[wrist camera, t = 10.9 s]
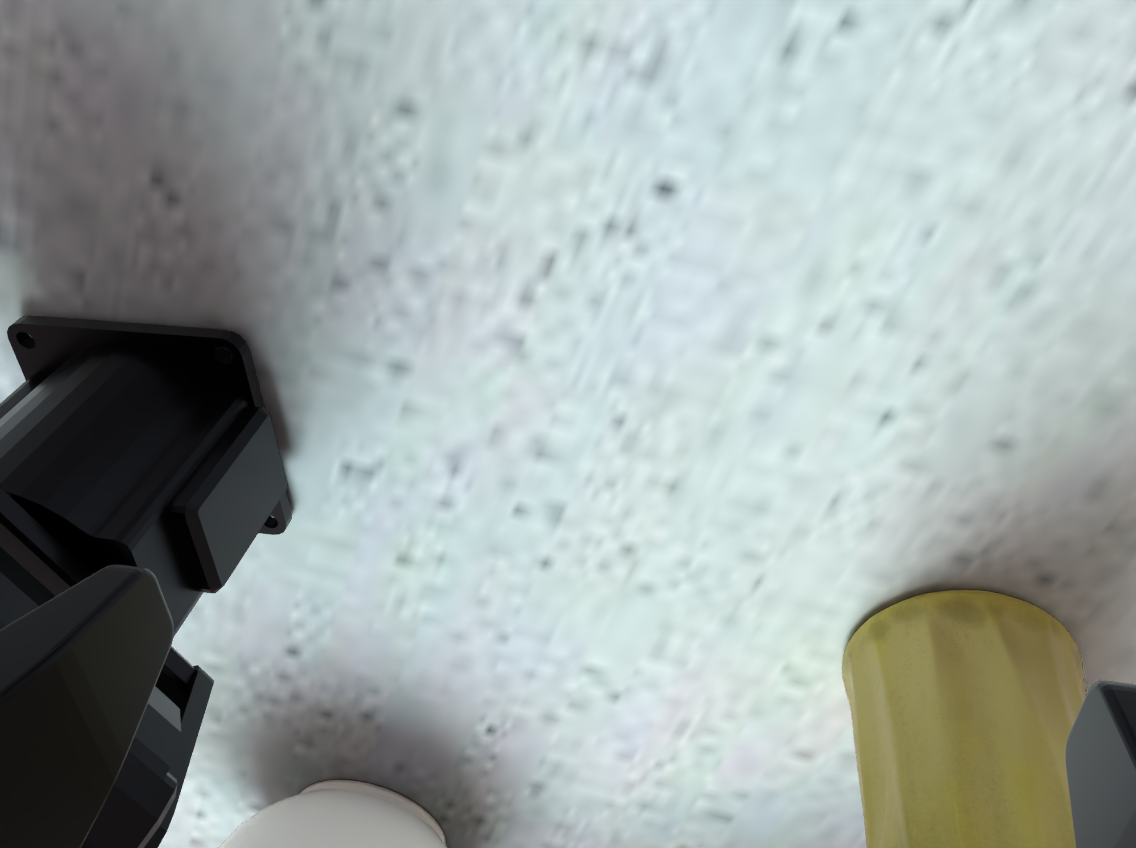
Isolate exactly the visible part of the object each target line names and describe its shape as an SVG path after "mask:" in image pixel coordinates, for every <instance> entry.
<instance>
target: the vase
mask: <svg viewBox="0 0 1136 848" xmlns="http://www.w3.org/2000/svg"><path fill="white" fill-rule="evenodd" d="M842 677H843V681H844V685H845V690H846V693H847V697H848V700H849V704H850V709H851V715H852V723H853V734H854V743H855V752H856V760H857V768H858V775H859V783H860V791H861V799H862V807H863V814H864V823H865V834H866V845H867V848H1076V845H1075V837H1074V829H1073V820H1072V812H1071V804H1070V796H1069V788H1068V780H1067V772H1066V763H1065V750H1066V743H1067V738H1068V735H1069V733H1070V731H1071V728H1072V726H1073V724H1074V722H1075V719H1076V717H1077V715H1078V713H1079V711H1080V708H1081V706H1082V704H1083V702H1084V699H1085V697H1086V694H1085V688H1084V681H1083V664H1082V659H1081V656H1080V652H1079V649H1078V647H1077V644H1076V642H1075V641H1074V639H1073V638H1072V636H1071V635H1070V633H1069V632H1068V631H1067V629H1066V628H1065V627H1064V626H1063V625H1062V624H1061V623H1060V622H1059V621H1057V620H1056V619H1055V618H1054V617H1052V616H1051V615H1050V614H1048V613H1047V612H1045V611H1044V610H1042V609H1040V608H1038V607H1036V606H1034V605H1032V604H1030V603H1028V602H1025V601H1022V600H1020V599H1017V598H1014V597H1010V596H1007V595H1003V594H999V593H994V592H989V591H981V590H948V591H938V592H930V593H925V594H921V595H917V596H914V597H911V598H908V599H906V600H903V601H901V602H898V603H896V604H894V605H892V606H889V607H887V608H886V609H884V610H882V611H880V612H878V613H877V614H875V615H874V616H872V617H870V618H869V619H868V620H867V621H866V622H865V623H864V624H863V625H862V626H861V627H860V628H859V629H858V630H857V631H856V632H855V634H854V635H853V636H852V638H851V639H850V641H849V643H848V644H847V646H846V649H845V652H844V655H843V662H842Z"/></svg>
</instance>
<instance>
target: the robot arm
mask: <svg viewBox="0 0 1136 848" xmlns="http://www.w3.org/2000/svg"><path fill="white" fill-rule="evenodd" d="M7 334H8V339H9V341H10V344H11V346H12V348H13V351H14V353H15V355H16V358H17V360H18V362H19V365H20V367H21V369H22V372H23V374H24V376H25V379H26V382H25V383H23V384H22V385H21V386H20V387H19V388H18V389H16V390H15V391H14V392H13V393H12V394H11V395H10V396H8V397H7V398H6V399H5V400H4V401H3V402H2V403H0V848H158V846H159V844H160V843H161V841H162V839H163V837H164V835H165V834H166V832H167V830H168V827H169V825H170V822H171V820H172V817H173V815H174V812H175V809H176V805H177V802H178V799H179V795H180V792H181V789H182V785H183V782H184V779H185V776H186V772H187V769H188V766H189V762H190V759H191V756H192V753H193V749H194V746H195V743H196V739H197V736H198V733H199V730H200V726H201V723H202V720H203V716H204V713H205V710H206V706H207V703H208V700H209V697H210V693H211V690H212V687H213V683H214V680H213V679H212V678H211V677H210V676H209V675H207V674H206V673H205V672H204V671H203V670H202V669H201V668H200V667H199V666H198V665H197V666H192V665H191V664H190V663H189V662H188V661H187V660H186V659H185V658H184V657H183V656H181V655H180V654H179V653H178V652H177V651H176V650H175V649H174V648H173V647H172V646H171V644H172V640H173V637H174V636H175V634H176V633H177V631H178V630H179V628H180V627H181V625H182V624H183V622H184V621H185V619H186V618H187V616H188V615H189V613H190V612H191V610H192V609H193V607H194V606H195V604H196V603H197V601H198V600H199V598H200V597H201V595H202V594H203V592H206V593H216V592H217V591H218V590H220V589H221V588H222V587H223V586H224V585H225V583H226V582H227V580H228V579H229V577H230V576H231V574H232V573H233V571H234V569H235V568H236V566H237V565H238V563H239V562H240V560H241V559H242V557H243V556H244V554H245V552H246V551H247V549H248V548H249V546H250V545H251V543H252V542H253V540H254V539H255V537H256V535H257V534H258V533H263V534H272V535H274V534H281V533H283V532H284V531H285V529H286V527H287V526H288V524H289V523H290V521H291V519H292V513H291V509H290V505H289V501H288V497H287V493H286V489H287V481H286V477H285V473H284V469H283V465H282V461H281V457H280V453H279V449H278V445H277V442H276V438H275V434H274V430H273V426H272V422H271V418H270V416H269V414H268V413H267V411H266V410H265V408H264V404H263V400H262V396H261V392H260V388H259V385H258V381H257V377H256V373H255V369H254V365H253V361H252V357H251V353H250V350H249V347H248V345H247V343H246V341H245V340H244V339H243V338H242V337H241V336H240V335H238V334H236V333H235V332H232V331H228V330H220V329H206V328H192V327H179V326H165V325H151V324H137V323H123V322H109V321H96V320H82V319H68V318H54V317H40V316H22V317H21V318H20V319H19V320H17V321H16V322H15V323H14V324H12V325H11V326H10V327H9V328H8V331H7ZM28 334H29V335H31V336H32V337H33V338H31V337H30V336H29V335H28ZM222 347H224V348H227V349H228V350H229V351H231V353H232V355H233V356H232V355H228V354H227V353H226V352H224V351H223V349H222ZM270 515H271V516H273V517H274V518H273V517H271V516H270ZM1065 763H1066V772H1067V780H1068V788H1069V796H1070V804H1071V812H1072V820H1073V829H1074V837H1075V845H1076V848H1136V685H1135V684H1127V683H1119V682H1110V681H1098V682H1096V683H1095V684H1093V685H1092V686H1091V688H1090V689H1089V691H1088V693H1087V695H1086V697H1085V699H1084V702H1083V704H1082V706H1081V708H1080V711H1079V713H1078V715H1077V717H1076V719H1075V722H1074V724H1073V726H1072V728H1071V731H1070V733H1069V735H1068V738H1067V743H1066V750H1065Z"/></svg>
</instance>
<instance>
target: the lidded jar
mask: <svg viewBox="0 0 1136 848" xmlns="http://www.w3.org/2000/svg"><path fill="white" fill-rule="evenodd" d="M217 848H447V847H446V839H445V835H444V833H443V831H442V828H441V827H440V825H439V824H438V823H437V821H436V820H435V819H434V818H433V817H432V816H431V815H430V814H429V813H428V812H427V811H426V810H424V809H423V808H422V807H421V806H419V805H418V804H416V803H415V802H413V801H412V800H410V799H408V798H406V797H404V796H402V795H401V794H399V793H396V792H394V791H391V790H389V789H387V788H384V787H380V786H377V785H374V784H370V783H365V782H360V781H353V780H327V781H322V782H317V783H315V784H312V785H310V786H308V787H306V788H305V789H303V790H302V791H301V792H300V793H299V794H298V795H295V796H292V797H289V798H286V799H284V800H281V801H279V802H277V803H274V804H272V805H270V806H268V807H266V808H264V809H263V810H261V811H260V812H258V813H257V814H255V815H254V816H252V817H251V818H249V819H248V820H246V821H245V822H243V823H242V824H241V825H239V826H238V827H237V828H236V829H235V830H234V831H233V832H232V833H231V834H230V835H229V836H228V837H226V838H225V839H224V841H223V842H222V843H221V844H220V845H219V846H218V847H217Z"/></svg>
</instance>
